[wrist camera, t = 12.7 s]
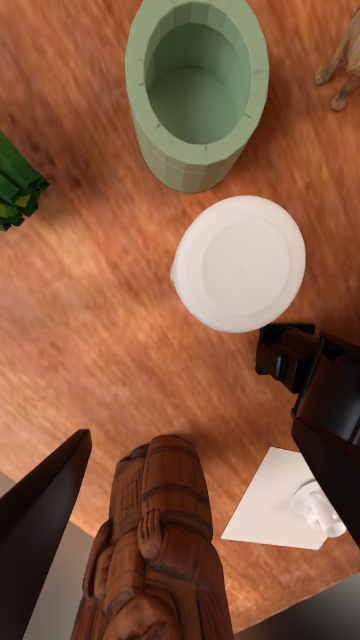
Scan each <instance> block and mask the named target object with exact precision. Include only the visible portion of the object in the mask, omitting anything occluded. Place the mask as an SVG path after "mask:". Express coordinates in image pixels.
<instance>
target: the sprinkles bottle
mask: <svg viewBox="0 0 360 640" xmlns="http://www.w3.org/2000/svg"><path fill="white" fill-rule="evenodd" d="M304 271H305V245H304V241H303V238H302V235H301V233H300V230H299V228H298V226H297V224H296V223H295V221H294V220H293V219H292V217H291V216H290V215H289V214H288V213H287V212H286V211H285V210H284V209H283V208H282V207H280V206H279V205H277V204H276V203H274V202H272V201H270V200H267V199H264V198H261V197H257V196H236V197H231V198H227V199H224V200H222V201H219V202H217V203H215V204H214V205H212V206H210V207H209V208H207V209H206V210H205V211H203V212H202V213H201V214H200V215H199V216H198V217H197V218H196V219H195V220H194V221H193V223H192V224H191V225H190V227H189V228H188V230H187V231H186V233H185V234H184V236H183V238H182V240H181V242H180V244H179V246H178V248H177V251H176V254H175V259H174V261H173V263H172V265H171V268H170V274H169V277H170V281H171V284H172V286H173V287H174V289H175V290H176V291H177V293H178V295H179V297H180V299H181V301H182V302H183V304H184V305H185V307H186V308H187V309H188V310H189V312H190V313H191V314H192V315H193V316H194V317H196V318H197V319H198V320H199V321H200V322H202V323H203V324H205V325H206V326H208V327H210V328H212V329H215V330H218V331H222V332H228V333H243V332H249V331H253V330H256V329H259V328H261V327H263V326H265V325H267V324H269V323H270V322H272V321H274V320H275V319H276V318H277V317H279V316H280V315H281V314H282V313H283V312H284V311H285V310H286V309H287V307H288V306H289V305H290V304H291V302H292V301H293V299H294V298H295V296H296V294H297V292H298V291H299V288H300V285H301V283H302V280H303V275H304Z"/></svg>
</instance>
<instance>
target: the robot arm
mask: <svg viewBox="0 0 360 640" xmlns="http://www.w3.org/2000/svg"><path fill="white" fill-rule="evenodd" d="M310 326H311V327H310ZM265 327H267V328H266V329H264V328H265ZM309 327H310V329H309ZM314 332H315V325H314V324H312V323H269V324H267V325H265V326H263V327H261V329H260V337H259V342H258V344H257V353H256V369H255V371H256V373H257V374H259V375H271V376H272V377H273V378H274V379H275V380H276V381H280V382H281V383H282V384H283V385H284V386H285V387H286V388H287V389H288V390H289V391H290V392H292V393H293V394H297V393H298V394H299V395H298V397H297V400H296V403H295V406H294V408H292V410H291V413H290V414H291V416H292V418H293V424H292V429H291V434H292V437H293V439H294V441H295V443H296V445H297V447H298V449H299V451H300V452H301V454H302V456H303V458H304V460H305V462H306V463H307V465H308V467H309V469H310V471H311V473H312V474H313V476H314V478H315V480H316V481H317V483H318V484H319V486H320V488H321V489H322V491H323V492H324V494H325V495H326V497H327V499H328V500H329V502H330V503H331V505H332V506H333V508H334V510H335V511H336V513H337V514H338V516H339V517H340V519H341V521H342V522H343V524H344V525H345V527H346V528H347V530H348V532H349V533H350V535H351V536H352V538H353V539H354V541H355V543H356V544H357V546H358V547H359V549H360V335H359V334H352V333H346V332H339V331H332V330H325V329H321V330H320V333H319V335H320V337H316V336H314ZM259 370H261V371H259ZM91 450H92V440H91V433H90V430H89V429H79V430H78V431H76V432H75V433H74V434H73V435H72V436H71V437H69V438H68V439H67V440H66V441H65V442H64V443H63V444H61V445H60V446H59V447H58V448H57V449H56V450H55V451H53V452H52V453H51V454H50V455H49V456H48V457H47V458H45V459H44V460H43V461H42V462H41V463H40V464H39V465H37V466H36V467H35V468H34V469H33V470H32V471H31V472H29V473H28V474H27V475H26V476H25V477H24V478H23V479H21V480H20V481H19V482H18V483H17V484H16V485H15V486H13V487H12V488H11V489H10V490H9V491H8V492H7V493H5V494H4V495H3V496H2V497H1V498H0V640H22V639H23V636H24V634H25V631H26V629H27V626H28V623H29V621H30V618H31V616H32V613H33V611H34V608H35V605H36V603H37V600H38V598H39V595H40V593H41V590H42V587H43V585H44V582H45V580H46V577H47V574H48V572H49V569H50V567H51V564H52V562H53V559H54V557H55V554H56V551H57V549H58V546H59V544H60V541H61V539H62V536H63V534H64V530H65V528H66V525H67V523H68V521H69V518H70V516H71V513H72V510H73V508H74V505H75V502H76V500H77V497H78V494H79V491H80V487H81V484H82V481H83V477H84V474H85V470H86V467H87V464H88V460H89V457H90V454H91Z"/></svg>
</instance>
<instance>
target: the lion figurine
mask: <svg viewBox="0 0 360 640" xmlns="http://www.w3.org/2000/svg"><path fill="white" fill-rule="evenodd" d="M342 60H343V61H344V66H345V71H346V72H347V73H348V75H349V77H352V78H351V79H350V80H348V81H347V82H346V83H345V84H344V85H343V86H342V87H341V88H340V90H339V92H338V94H337V95H336V96H335V97H334V99H333V101H332V103H331V104H332V109H333V110H335V111H341V110H342V109H343V108H344V106H345V104H346V101H347V100H348V98H349V97H350V96H351V95H352V94H353V92H354V91H355V90H356V89H357V88H358V87H360V5H359V7H358V8H357V10H356V12H355V13H354V16H353V19H352V21H351V23H350V25H349V27H348V32H347V33H346V35H345V37H344V38H343V40H342V42H341V43H340V45H339V46H338V48H337V50H336V51H335V53H334V55H333V57H332V58H331V60H330V61H329V62H328V63H326V64H322V65H320V66H319V68H318V69H317V71H316V74H315V82H316V84H317V85H318V86H320V85H322V84H324V83H325V82H326V81H327V80H329V79H330V78H331V77H332V75H333V73H334V72H335V70H336V69H337V67H338V66H339V64H340V63H341V62H342Z"/></svg>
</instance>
